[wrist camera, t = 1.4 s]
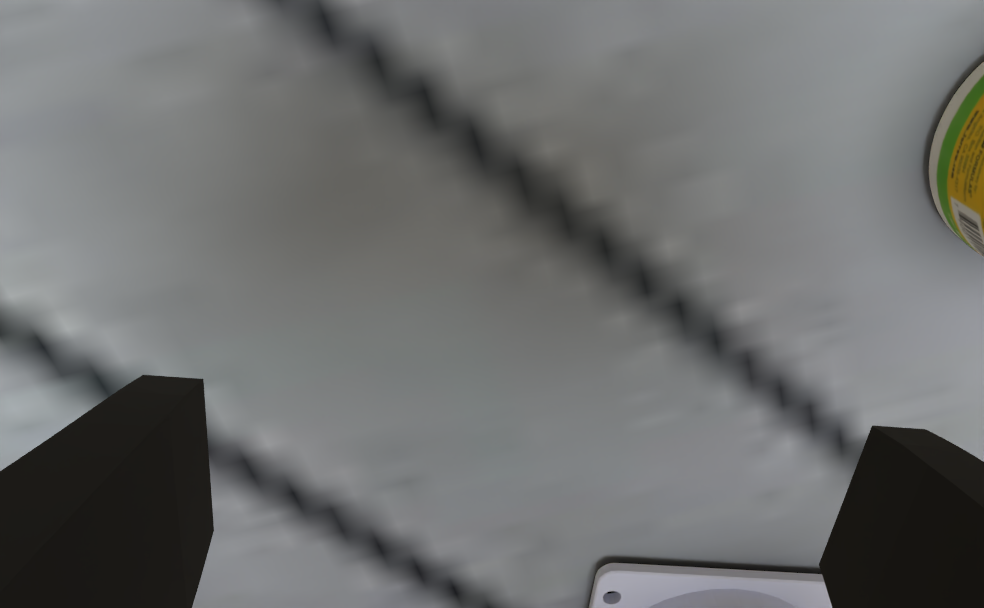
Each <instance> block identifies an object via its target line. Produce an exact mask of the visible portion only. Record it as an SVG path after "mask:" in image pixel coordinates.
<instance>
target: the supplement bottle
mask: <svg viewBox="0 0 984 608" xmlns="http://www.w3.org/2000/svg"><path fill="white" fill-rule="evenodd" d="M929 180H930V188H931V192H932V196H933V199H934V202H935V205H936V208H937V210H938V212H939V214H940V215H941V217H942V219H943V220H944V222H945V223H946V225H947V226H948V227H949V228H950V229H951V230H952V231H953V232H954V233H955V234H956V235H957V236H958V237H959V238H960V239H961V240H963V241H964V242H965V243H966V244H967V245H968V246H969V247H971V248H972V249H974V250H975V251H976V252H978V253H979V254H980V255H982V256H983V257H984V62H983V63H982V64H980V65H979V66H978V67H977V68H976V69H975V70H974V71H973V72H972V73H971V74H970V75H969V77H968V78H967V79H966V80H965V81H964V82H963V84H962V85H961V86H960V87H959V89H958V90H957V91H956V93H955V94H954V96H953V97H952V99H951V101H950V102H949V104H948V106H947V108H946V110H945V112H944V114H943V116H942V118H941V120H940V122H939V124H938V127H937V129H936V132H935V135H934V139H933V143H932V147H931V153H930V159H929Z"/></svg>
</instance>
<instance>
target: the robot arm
mask: <svg viewBox="0 0 984 608" xmlns="http://www.w3.org/2000/svg"><path fill="white" fill-rule="evenodd" d="M213 531H214V527H213V512H212V498H211V483H210V469H209V455H208V440H207V426H206V412H205V397H204V383H203V379H194V378H179V377H165V376H151V375H142V376H141V377H139V378H138V379H136V380H134V381H133V382H131V383H129V384H128V385H126V386H125V387H123V388H122V389H120V390H119V391H117V392H116V393H114V394H113V395H111V396H110V397H108V398H107V399H106V400H104V401H103V402H101V403H100V404H98V405H97V406H95V407H94V408H92V409H91V410H90V411H88V412H87V413H85V414H84V415H82V416H81V417H79V418H78V419H77V420H75V421H74V422H72V423H71V424H69V425H68V426H67V427H65V428H64V429H62V430H61V431H59V432H58V433H56V434H55V435H54V436H52V437H51V438H49V439H48V440H46V441H45V442H43V443H42V444H40V445H39V446H37V447H36V448H34V449H33V450H31V451H30V452H28V453H27V454H25V455H24V456H22V457H21V458H20V459H18V460H17V461H15V462H14V463H12V464H11V465H9V466H8V467H6V468H5V469H3V470H2V471H0V608H192V605H193V602H194V598H195V595H196V592H197V588H198V585H199V582H200V578H201V575H202V571H203V567H204V564H205V560H206V557H207V553H208V549H209V546H210V542H211V539H212V535H213ZM819 566H820V569H821V573H822V574H808V573H790V572H772V571H754V570H736V569H718V568H700V567H682V566H664V565H646V564H628V563H609V564H606V565H604V566H602V567H601V568H600V569H599V570H598V571H597V573H596V576H595V581H594V586H593V590H592V595H591V600H590V604H589V608H984V462H983V461H981V460H980V459H978V458H976V457H975V456H973V455H971V454H970V453H968V452H966V451H965V450H963V449H961V448H960V447H958V446H956V445H954V444H952V443H951V442H949V441H947V440H945V439H943V438H941V437H939V436H937V435H936V434H934V433H932V432H930V431H928V430H926V429H912V428H898V427H884V426H872V428H871V430H870V433H869V435H868V438H867V441H866V443H865V446H864V449H863V451H862V454H861V456H860V459H859V462H858V464H857V467H856V469H855V472H854V475H853V477H852V480H851V482H850V485H849V488H848V490H847V493H846V496H845V498H844V501H843V503H842V506H841V509H840V511H839V514H838V516H837V519H836V522H835V524H834V527H833V529H832V532H831V535H830V537H829V540H828V543H827V545H826V548H825V550H824V553H823V556H822V558H821V561H820V563H819ZM609 591H616V592H614V593H610V594H607V592H609Z"/></svg>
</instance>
